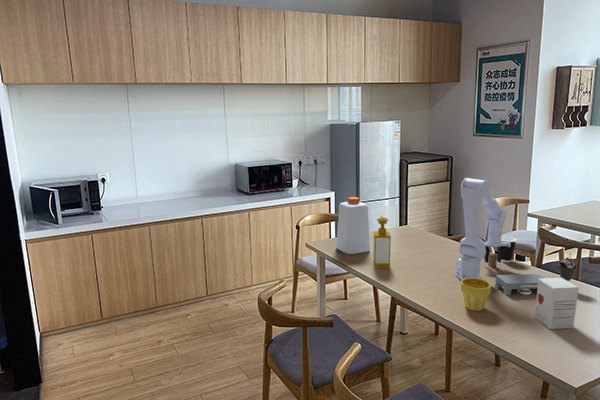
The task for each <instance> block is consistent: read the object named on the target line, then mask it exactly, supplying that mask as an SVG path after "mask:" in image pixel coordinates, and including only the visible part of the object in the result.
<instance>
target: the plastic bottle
mask: <svg viewBox="0 0 600 400" xmlns="http://www.w3.org/2000/svg"><path fill="white" fill-rule="evenodd" d="M337 220H338V221H337V232H336V242H335V243H336V244H335V247H336V250H338V251H340V252H343V253H344V254H347V255H359V254H361V253H362V254H363V253H364V254H365V253H368V252H369V251H370V249H371V247H370V246H371V244H370V243H371V242H370V227H369V226H370V224H369V206H368V204H366V203H365V202H362V201H360V198H359V197H357V196H351V197H348V198H347V201H344V202H340V203H339V206H338V219H337Z"/></svg>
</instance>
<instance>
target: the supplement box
mask: <svg viewBox="0 0 600 400" xmlns="http://www.w3.org/2000/svg"><path fill="white" fill-rule="evenodd" d="M579 290H580V289H579V286H577V285H575V284H573V283H572V282H570V281H567V280H565V279H563V278H561V277H544V278H541V279H539V280H538V288H537V290H536V301H535V302H536V303H535V310H534V311H535V312H534V319H536V320H537V321H538V322H540V323H541V324H542V325H543V326H545V327H546V328H548V329H549V330H557V329H558V330H559V329H574V327H575V318H576V313H577V312H576V311H577V309H576V308H577V305H578V304H577V302H578V297H579V296H578V295H579Z"/></svg>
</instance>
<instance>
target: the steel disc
mask: <svg viewBox="0 0 600 400" xmlns="http://www.w3.org/2000/svg"><path fill="white" fill-rule="evenodd" d="M517 293H518V294H521V295H524V296H525V295H527V296H529V295H532V289H517Z"/></svg>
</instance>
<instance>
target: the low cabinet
mask: <svg viewBox="0 0 600 400" xmlns="http://www.w3.org/2000/svg"><path fill="white" fill-rule="evenodd" d="M541 278H545V277H544V276H542V275H540V274H539V273H533V274H532V273H530V274H526V273H525V274H523V273H522V274H510V275H496V276H495V282H494V283H495V284H494V287H495V288H496V289H503V295H505V296H511V295H512V290H518V289H530V290H532V289H538V280H539V279H541Z"/></svg>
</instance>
